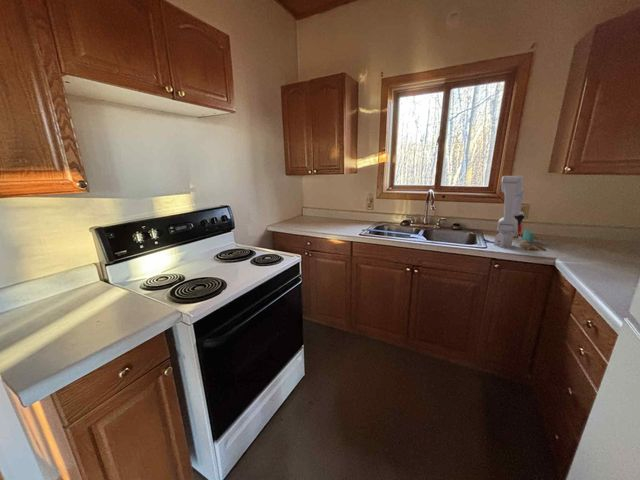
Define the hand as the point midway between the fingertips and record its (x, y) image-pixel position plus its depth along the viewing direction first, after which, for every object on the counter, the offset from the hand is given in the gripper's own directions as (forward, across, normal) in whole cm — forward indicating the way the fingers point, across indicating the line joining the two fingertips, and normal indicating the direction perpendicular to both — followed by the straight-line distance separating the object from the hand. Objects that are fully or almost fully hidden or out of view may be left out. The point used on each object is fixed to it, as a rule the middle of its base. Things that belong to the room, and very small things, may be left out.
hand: (512, 226), depth 180 cm
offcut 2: (+9, -11, -20) cm, 24 cm away
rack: (+9, -7, -19) cm, 23 cm away
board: (+8, +3, -9) cm, 13 cm away
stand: (+9, +3, -9) cm, 13 cm away
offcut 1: (+9, -9, -15) cm, 20 cm away
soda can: (+10, +14, +8) cm, 18 cm away
